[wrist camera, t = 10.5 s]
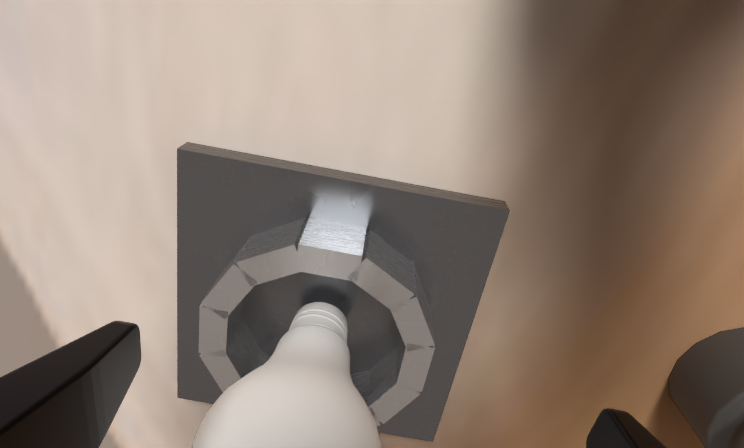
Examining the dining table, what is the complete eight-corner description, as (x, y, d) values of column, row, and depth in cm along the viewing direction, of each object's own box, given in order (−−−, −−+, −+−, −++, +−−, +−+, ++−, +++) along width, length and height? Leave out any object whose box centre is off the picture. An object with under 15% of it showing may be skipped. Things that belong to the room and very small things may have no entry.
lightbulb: (253, 350, 24) (149, 601, 14) (267, 245, 21) (151, 462, 11) (372, 374, 24) (353, 638, 14) (400, 274, 21) (402, 510, 11)
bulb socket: (504, 201, 21) (523, 237, 18) (431, 426, 27) (435, 483, 24) (187, 142, 20) (147, 167, 17) (185, 383, 26) (155, 436, 23)
